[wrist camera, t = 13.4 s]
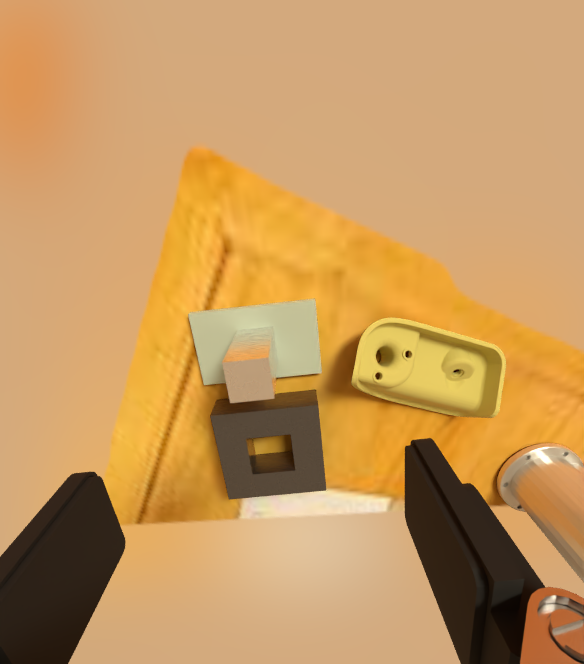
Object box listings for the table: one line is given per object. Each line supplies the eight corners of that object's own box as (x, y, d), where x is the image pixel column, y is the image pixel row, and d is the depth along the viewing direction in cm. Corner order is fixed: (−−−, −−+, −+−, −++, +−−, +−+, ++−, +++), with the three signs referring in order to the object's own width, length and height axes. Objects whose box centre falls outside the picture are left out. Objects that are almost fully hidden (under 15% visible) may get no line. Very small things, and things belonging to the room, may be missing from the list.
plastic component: (508, 348, 41) (496, 427, 40) (466, 349, 48) (455, 416, 47) (366, 306, 38) (348, 392, 36) (343, 315, 45) (328, 386, 44)
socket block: (315, 389, 45) (318, 405, 41) (323, 469, 50) (326, 490, 46) (216, 399, 46) (210, 416, 42) (233, 478, 50) (229, 499, 46)
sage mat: (314, 298, 41) (315, 300, 40) (321, 369, 44) (321, 372, 43) (190, 312, 41) (188, 314, 40) (205, 381, 45) (203, 385, 44)
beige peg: (273, 326, 41) (268, 357, 32) (277, 359, 43) (274, 398, 33) (237, 330, 41) (221, 362, 32) (243, 362, 43) (230, 403, 33)
